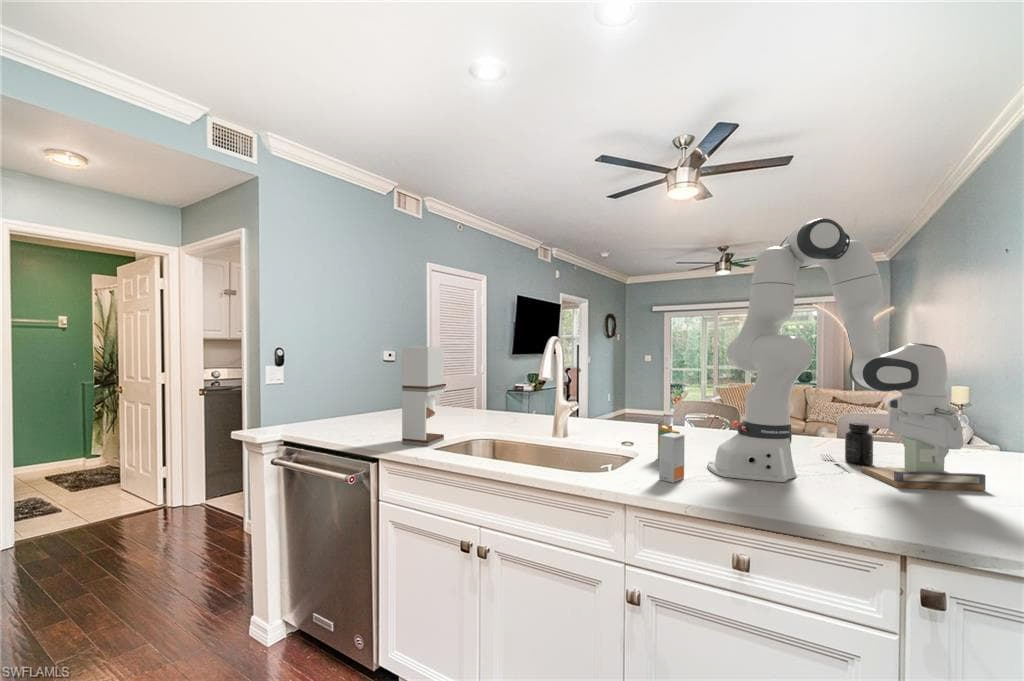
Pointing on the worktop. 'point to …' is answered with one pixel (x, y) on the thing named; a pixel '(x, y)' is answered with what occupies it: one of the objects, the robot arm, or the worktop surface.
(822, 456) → the fork
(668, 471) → the skincare box
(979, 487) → the shelf board
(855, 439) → the supplement bottle
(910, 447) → the carton
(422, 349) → the coffee grinder
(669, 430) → the crayon box
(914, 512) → the worktop surface
